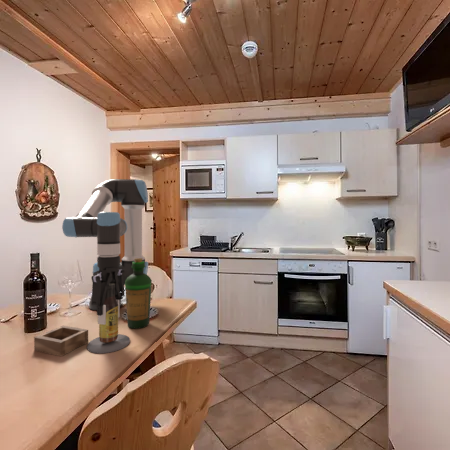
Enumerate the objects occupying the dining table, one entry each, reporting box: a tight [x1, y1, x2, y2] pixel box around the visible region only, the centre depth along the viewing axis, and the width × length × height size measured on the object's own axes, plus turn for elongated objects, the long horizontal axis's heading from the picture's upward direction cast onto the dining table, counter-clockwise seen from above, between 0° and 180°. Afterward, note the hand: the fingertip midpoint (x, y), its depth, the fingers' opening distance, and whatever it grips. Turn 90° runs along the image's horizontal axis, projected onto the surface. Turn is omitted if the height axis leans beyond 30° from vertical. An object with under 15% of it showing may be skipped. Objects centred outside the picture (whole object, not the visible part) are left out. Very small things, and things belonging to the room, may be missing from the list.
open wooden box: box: [33, 325, 89, 357], centre depth 96 cm, size 11×12×4 cm
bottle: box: [124, 258, 153, 330], centre depth 115 cm, size 11×11×28 cm
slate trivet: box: [86, 333, 131, 354], centre depth 98 cm, size 14×14×1 cm
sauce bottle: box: [98, 283, 119, 343], centre depth 98 cm, size 7×6×20 cm
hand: (109, 320), depth 98 cm, fingers closed on sauce bottle, 6 cm apart
